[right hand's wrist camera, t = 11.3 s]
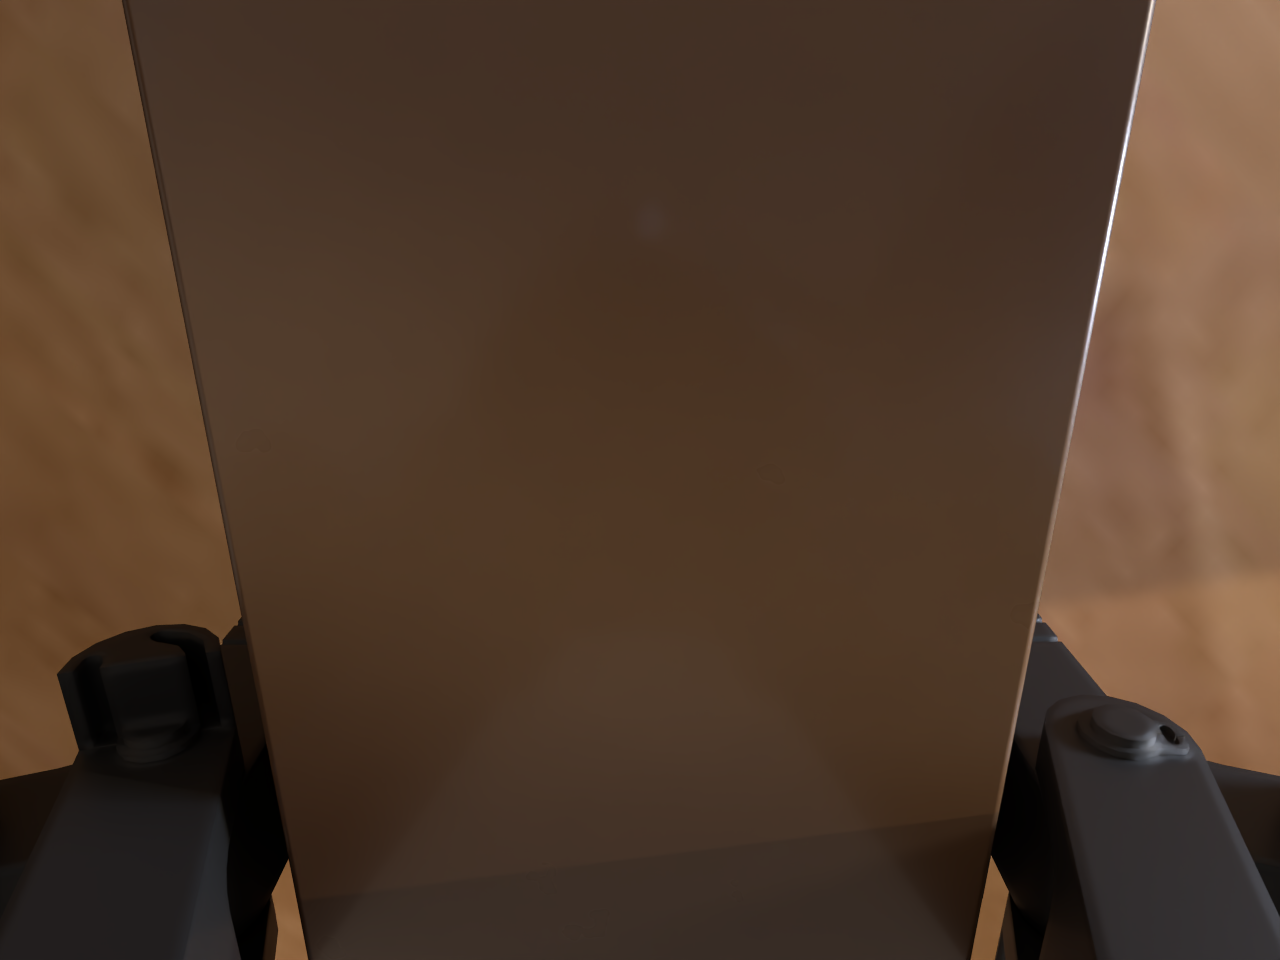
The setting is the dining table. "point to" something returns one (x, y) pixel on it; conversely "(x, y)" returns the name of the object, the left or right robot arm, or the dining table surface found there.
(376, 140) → the post
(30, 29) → the dining table surface
